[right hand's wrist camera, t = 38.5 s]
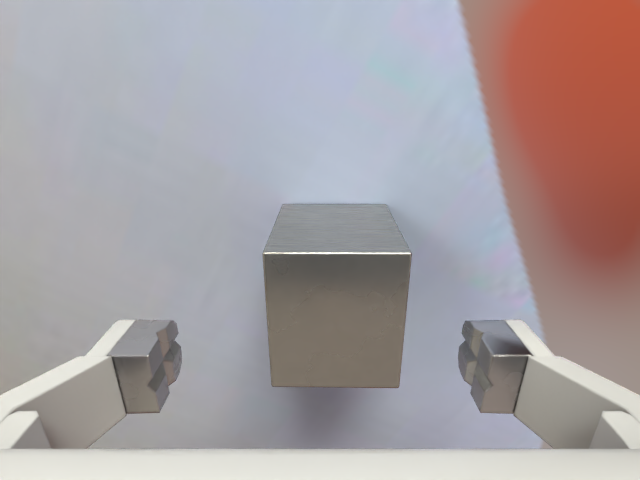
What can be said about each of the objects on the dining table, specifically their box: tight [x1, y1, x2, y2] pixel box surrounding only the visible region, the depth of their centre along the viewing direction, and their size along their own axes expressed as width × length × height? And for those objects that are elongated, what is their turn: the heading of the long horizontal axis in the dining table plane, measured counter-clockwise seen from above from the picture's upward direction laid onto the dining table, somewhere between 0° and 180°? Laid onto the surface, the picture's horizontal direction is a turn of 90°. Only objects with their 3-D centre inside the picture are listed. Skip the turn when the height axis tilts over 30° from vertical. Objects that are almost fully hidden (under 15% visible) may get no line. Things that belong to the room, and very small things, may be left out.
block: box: [263, 204, 412, 388], centre depth 13 cm, size 4×5×5 cm
